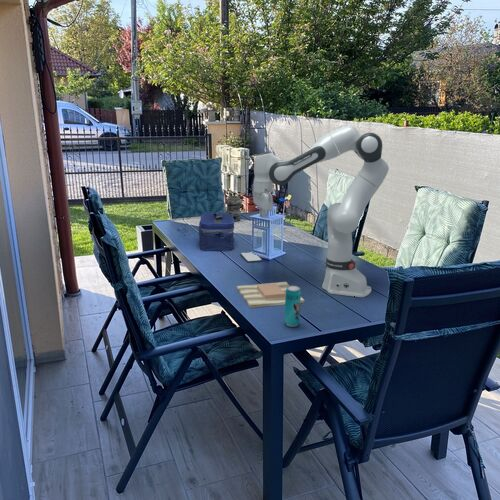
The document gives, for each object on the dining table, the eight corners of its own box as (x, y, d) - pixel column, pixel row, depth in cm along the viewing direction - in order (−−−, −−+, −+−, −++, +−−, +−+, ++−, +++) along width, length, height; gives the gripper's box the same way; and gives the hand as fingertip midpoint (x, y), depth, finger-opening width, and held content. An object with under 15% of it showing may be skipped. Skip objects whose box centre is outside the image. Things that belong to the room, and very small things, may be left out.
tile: (275, 283, 222) (285, 293, 210) (275, 288, 222) (285, 298, 210) (256, 285, 219) (265, 295, 207) (256, 290, 220) (265, 300, 208)
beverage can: (293, 329, 184) (294, 291, 180) (281, 324, 188) (282, 288, 184) (302, 324, 188) (303, 287, 184) (290, 320, 192) (291, 284, 188)
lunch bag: (236, 252, 282) (236, 218, 277) (199, 253, 280) (199, 218, 274) (231, 239, 312) (231, 207, 306) (198, 239, 309) (198, 208, 304)
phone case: (262, 262, 266) (254, 254, 280) (262, 260, 265) (254, 251, 280) (247, 264, 263) (239, 255, 278) (247, 261, 263) (239, 252, 277)
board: (236, 288, 225) (236, 285, 225) (285, 284, 232) (285, 281, 231) (250, 308, 203) (250, 305, 203) (304, 302, 209) (304, 300, 209)
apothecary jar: (237, 222, 357) (237, 198, 352) (222, 221, 361) (222, 197, 356) (243, 219, 368) (244, 195, 363) (229, 218, 372) (229, 194, 367)
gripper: (276, 191, 217) (275, 221, 221) (263, 184, 236) (263, 212, 240) (263, 191, 215) (262, 222, 219) (250, 184, 234) (250, 213, 238)
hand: (262, 216), depth 229 cm, fingers closed
